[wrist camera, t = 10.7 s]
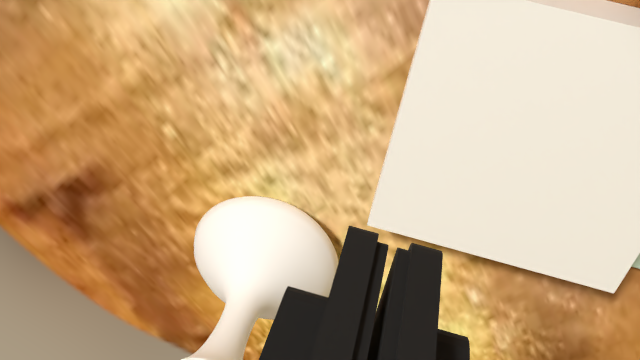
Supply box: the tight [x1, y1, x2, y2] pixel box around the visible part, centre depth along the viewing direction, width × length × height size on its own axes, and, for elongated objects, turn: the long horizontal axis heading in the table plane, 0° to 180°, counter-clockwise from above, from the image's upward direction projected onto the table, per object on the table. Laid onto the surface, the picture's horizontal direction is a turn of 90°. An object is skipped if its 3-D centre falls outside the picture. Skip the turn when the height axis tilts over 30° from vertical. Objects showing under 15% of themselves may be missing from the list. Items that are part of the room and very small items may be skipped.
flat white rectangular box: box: [367, 0, 640, 293], centre depth 35 cm, size 16×16×4 cm
